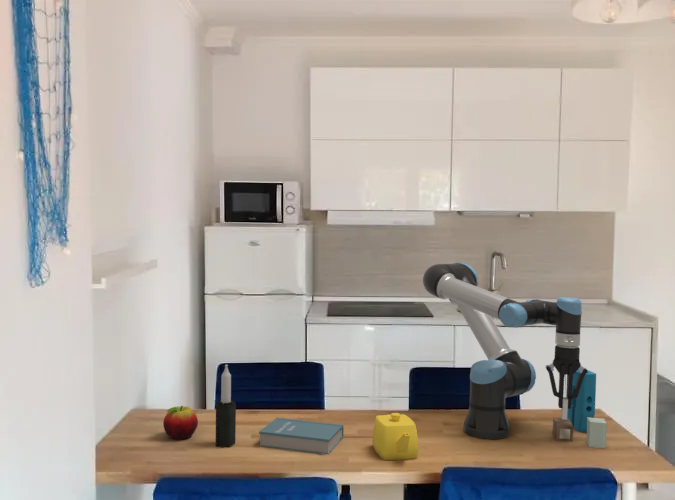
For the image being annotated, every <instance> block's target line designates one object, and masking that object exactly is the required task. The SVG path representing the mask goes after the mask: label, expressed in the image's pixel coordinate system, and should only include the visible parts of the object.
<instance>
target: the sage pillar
mask: <svg viewBox="0 0 675 500" xmlns="http://www.w3.org/2000/svg"><path fill="white" fill-rule="evenodd" d="M607 429H608V423H607V422H606V420H605V418H603V417H602V418H599V417H594V418H589V417H587V432H586V440H585V441H586V444H587V446H588V447H589V448H595V449H596V448H597V449H599V448H600V449H606V448H607V433H608V432H607Z"/></svg>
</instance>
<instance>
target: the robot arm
mask: <svg viewBox="0 0 675 500" xmlns="http://www.w3.org/2000/svg"><path fill="white" fill-rule="evenodd" d="M478 280H479V277H478V273H477V272H476V270H475V269H474V267H472V266H471V265H469V264H466V263H462V262H454V263H437V264H434V265H431V266H430V267H428V268H427V269H426V270H425V271H424V275H423V277H422V284H423V287H424V289H425V290H426V291H427V292H428V293H429V294H430V295H432V296H434V297H436V298H439V299H441V300H447V299H448V300H449V302H450V303H451V305H455V306H457V308H458V309H459V311H460V312H461V315H462V316H463V318H464V319H465V322H466V323H467V325H468V326H469V328H470V330H471V332H472V334H473V335H474V337H475V339H476V341H477V343H478V344H479V346H480V348H481V349H482V351H483V354H485V355H484V356H486V358H487V359H483V360H478V361H476V362H474V363H473V364H472V365H471V367H470V374H469V407H468V410H467V414H466V416H465V419H464V422H463V432H464V433H465V434H466V435H469V436H472V437H474V438H480V439H486V440H498V439H505V438H508V437H510V435H511V427H510V423H509V420H508V419H509V418H508V416H507V413H506V399H507V398H510V397H514V396H521V395H524V394H525V393H528V392H530V391H531V390H532V389H533V388H534V386H535V385H536V379H537V374H536V369H535V367H534V365H533V364H532V363H531V362H530V361H529V360H527V359H524V358H522V357H521V356H520V354H519V352H518V351H517V350H515V349H511V347H510V346H509V343H507V341H506V339H505V338H504V336H503V334H502V333H501V331H500V329H499V327H498V326H497V324H496V323H495V321H494V318H495V319H498V320H500V322H501V323H502V324H503V326H505V327H507V328H520V327H525V326H533V325H539V324H545V325H550V326H555V340H554V341H555V342H554V343H555V344H556V345H555V346H554V358H553V360H552V363H550V364H547V365H545V370H546V371H547V373H548V376H549V380H550V385H551V389H552V394H553V396H554V397H557V398H558V402H557V403H558V405H557V406H558V408H559V409H560V410H561V416H560V418H562V419H566V420H567V411H568V409H571V400H572V399H573V398H577V397H578V394H579V391H580V388H581V385H582V381H583V378H584V376H585V375H586V373H587V372H588V371H587V370H588V369H587V368H586V367H584V366H582V364H581V362H580V346H581V328H582V327H581V326H582V314H583V312H582V301H581V299H580V298H577V297H568V296H560V297H558V298H557V299H556V302H554V301H547V300H541V299H529V298H528V299H527V300H526V301H523V302H520V301H516V300H514V299H511V298H508V297H506V296H503V295H502V294H501V295H500V294H498V293H495V292H492V291H490V290H487V289H486V288H485V289H484V288H482V287H480V286H478V284H479V281H478ZM554 368H555V369H556V372H557V373H558V376H559V377H558V380H559V381H558V389H557V385H556V380H555V376H554V370H555V369H554ZM578 369H579V372H580V373H579V375H578V378H577V382H576V385H575V388H574V391H573V393H572V382H573V374H574V373H575V372H576V371H577V370H578ZM567 375H568V380H567V379H566V390H567V397H566V396H564V394H565V392H564V391H565V390H564V389H565V377H566V376H567Z"/></svg>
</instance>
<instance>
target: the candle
mask: <svg viewBox="0 0 675 500" xmlns="http://www.w3.org/2000/svg"><path fill="white" fill-rule="evenodd" d="M228 366H229V365H228V364H225V365H224V370H223V372H222V374H221V378H220V380H221V382H220V383H221V388H220V389H221V390H220V391H221V392H220V400H218V402H217V403H216V404H215V446H216V447H223V448H231V447H232V446H235V444H236V427H237V426H236V421H237V418H236V416H237V415H236V413H237V412H236V411H237V408H236V407H237V403H236V402H235V401H234V400H232V399H231V398H232V374H231V373H230V370H229V367H228Z"/></svg>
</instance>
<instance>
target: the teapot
mask: <svg viewBox="0 0 675 500" xmlns="http://www.w3.org/2000/svg"><path fill="white" fill-rule="evenodd" d="M374 420H375V421H374V425H373V431H372V446H373V449H374V451H375V453H376V454H377V455H378V456H379V457H380V458H381V459H382V460H384V461H399V460H400V461H401V460H413V459H417V458H418V455H419V438H418V436H419V435H418V432H417V426H416V423H415V422H414V421H413V419H412V418H410V417H409V416H408V415H406V414H401V413H399V412H392V413H390V414H389V413H388V414H383V415H380V414H378V415H376V416H375V419H374Z"/></svg>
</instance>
